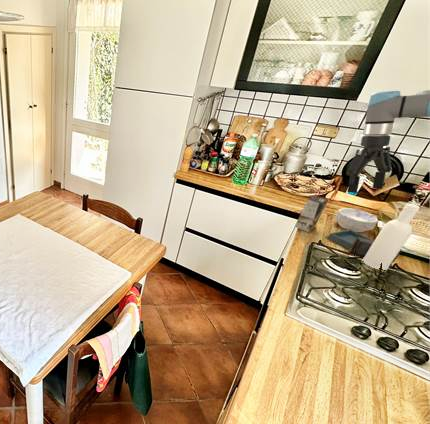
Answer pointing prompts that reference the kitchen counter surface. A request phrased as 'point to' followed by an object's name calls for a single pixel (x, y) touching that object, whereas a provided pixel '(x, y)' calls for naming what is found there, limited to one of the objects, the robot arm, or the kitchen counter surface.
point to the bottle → (391, 239)
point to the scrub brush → (363, 248)
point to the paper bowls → (355, 219)
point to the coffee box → (311, 213)
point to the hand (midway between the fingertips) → (364, 190)
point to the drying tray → (346, 238)
